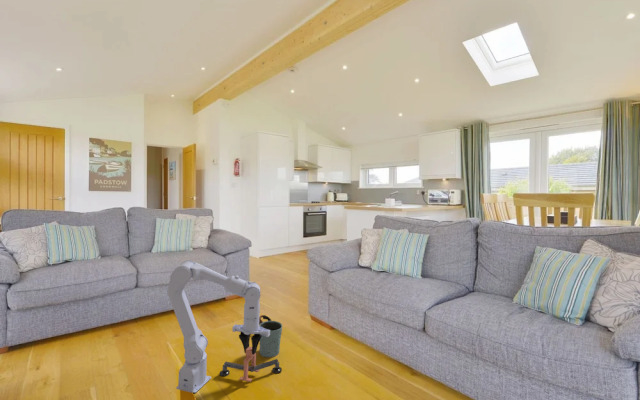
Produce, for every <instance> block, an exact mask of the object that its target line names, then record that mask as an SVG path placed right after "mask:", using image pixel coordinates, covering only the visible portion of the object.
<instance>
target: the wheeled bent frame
mask: <svg viewBox="0 0 640 400" xmlns="http://www.w3.org/2000/svg"><path fill="white" fill-rule="evenodd" d="M271 366H274V367H272V369H271V370H272V373H273V374H280V373H281V372H282V367H280V361H279V359H277V358H275V359H272V360H268V361H266V362H262V363H260V364H256V366H253V367H252V366H251V365H248V372H250V373H253V372H254V371H256V370H259V371H260V370H262V369H265V368H268V367H271ZM228 368H231V369H236V370H241V371H244V364H241V363H240V364H239V363H235V362H230V361H225V362H224V363H223V365H222V370H220V371H219V376H220V377H228V376H230V370H229V369H228Z"/></svg>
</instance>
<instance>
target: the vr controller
mask: <svg viewBox="0 0 640 400" xmlns="http://www.w3.org/2000/svg"><path fill="white" fill-rule="evenodd" d="M262 319H263V320H267V321H272V319H271V318H270V317H269V316H267V315H266V314H264V315H263V314H262V315H259V325H260V324H261V323H263V322H264V321H263V320H262Z"/></svg>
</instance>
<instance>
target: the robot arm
mask: <svg viewBox="0 0 640 400" xmlns="http://www.w3.org/2000/svg"><path fill="white" fill-rule="evenodd" d="M191 279H192V282H195V281H199V280H202V279H203V280H206V281H208V282H211V283H214V284H217V285H220V286H223V288H224V290H225V291H226V292H229V293H232V294H234V295H236V296H239V297H240V298H241V297H242V298H244V304H243V324H237V323H236V324H234V325H233V326H232V332H234V333H235V332H239V333H240V334H239V335H238V339H239V340H240V341H241V344H242V347H243V352H244V354H246V349H247V348H248V347H250V340H251V347H252V354H255V353H256V354H257V350H258V347H259V344H260V339H261V337H262V335H263V336H265V337H269V335H270V330H268V329H265V328H262V327H260V326H259V317H260V316H261V315H260V313H261V311H260V310H261V304H260V302H261V286H260V285H259V284H258V283H256V281H250V280H248V281H247V280H244V279H242V278H240V275H231V276H226V275H224V274H222V273H219V272H217V271H215V270H213V269H211V268H209V267H207V266H204V265H203V264H201V263H199V262H195V261H194V260H185V261H183V262H182V263H181V264H180V265H179V266H177V267H176V268H175V269H173V271H172V272H171V274H170V276H169V281H168V286H167V291H166V292H167V295H168V298H169V301H170V303H171V306H172V309H173V311H174V314H175V317H176V320H177V322H178V325H179V328H180V330H181V333H182V335H183V349H184V353H183V354H184V355H183V356H184V361H185V362H184V364H183V365H182V367H180V368H179V370H178V385H177V386H176V387H175V388H176V389H175V390H179V391H184V392H188V393H193V394H196V393H198V392H199V390H200V389H201V388H202V387H204V386H205V385H206V384H207V383H208V381H210V380H211V379H212V376H210V375H207V366H208V364H207V362H208V361H207V358H208V354H207V352H206V348H207V347H208V345H209V340H208V338H207V337H206V336H205V335H204V333H203V331H202V330H201V329H199V327H198V325H197V322H196V319H195V315H194V314H193V310H192V308H191V304H190V302H189V300H188V297H187V295H186V291H185V289H186V286H187V285H188V282H190V281H191ZM251 335H252V336H251Z"/></svg>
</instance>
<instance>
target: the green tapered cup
mask: <svg viewBox="0 0 640 400" xmlns="http://www.w3.org/2000/svg"><path fill="white" fill-rule="evenodd" d="M259 326H260V327H262V328H265V329H268V330H270V335H269V337H265V336H263V335H262V337H261V339H260V341H259V350H258V351H259V355H260V356H261V357H264V358H274V357H276V356H278V355H279V354H280V348H281V337H282V331H283V324H282V322H279V321H277V320H271V321H268V320H267V321H266V320H265V321H263V323H261V324H260V325H259Z"/></svg>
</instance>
